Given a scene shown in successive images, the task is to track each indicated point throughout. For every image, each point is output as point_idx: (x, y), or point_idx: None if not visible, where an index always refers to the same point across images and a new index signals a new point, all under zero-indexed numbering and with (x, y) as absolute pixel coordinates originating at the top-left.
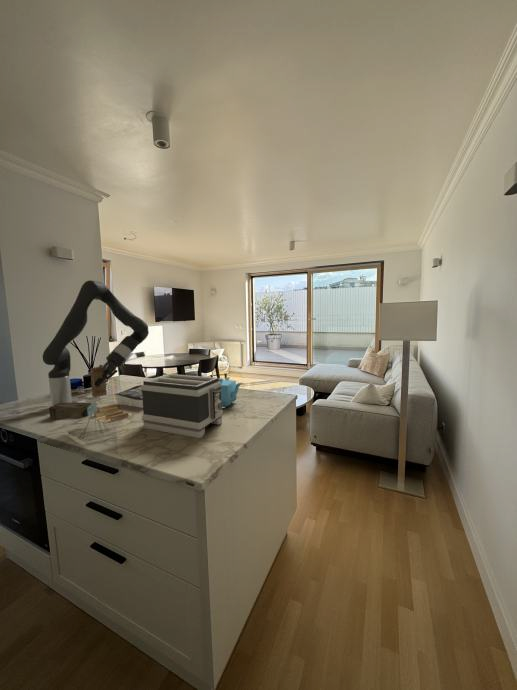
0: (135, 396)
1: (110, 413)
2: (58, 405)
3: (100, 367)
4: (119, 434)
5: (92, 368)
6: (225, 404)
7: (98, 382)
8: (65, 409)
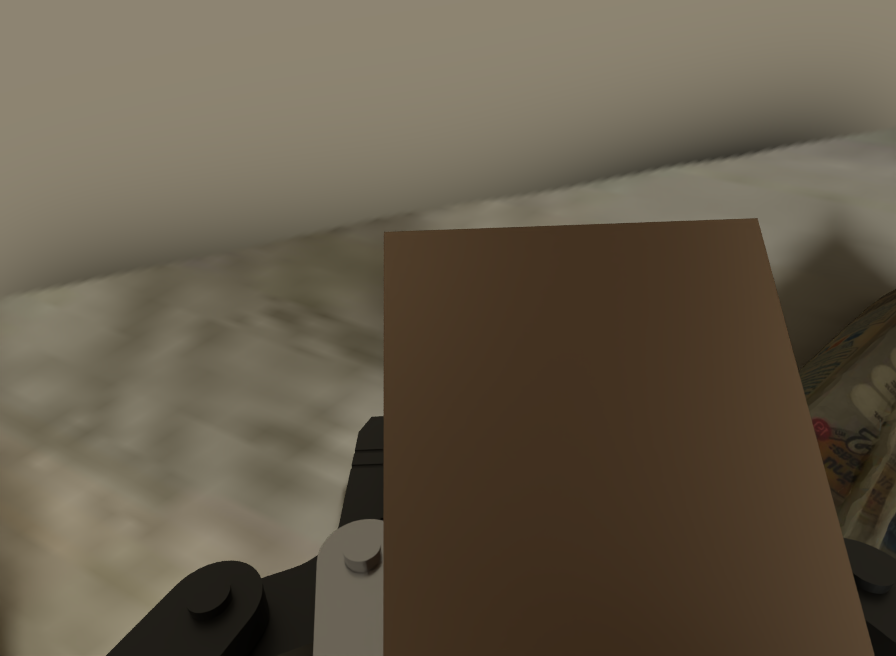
0: None
1: None
2: None
3: None
4: (102, 496)
5: (513, 228)
6: None
7: (353, 458)
8: (850, 347)
